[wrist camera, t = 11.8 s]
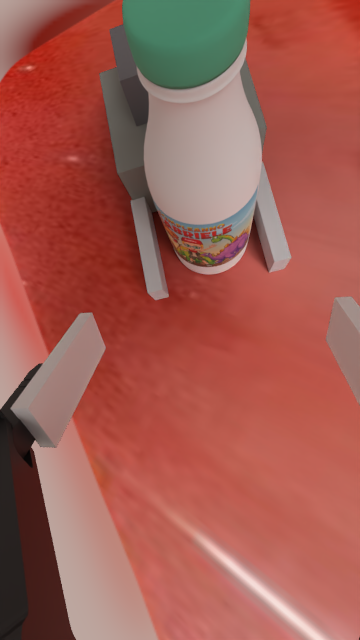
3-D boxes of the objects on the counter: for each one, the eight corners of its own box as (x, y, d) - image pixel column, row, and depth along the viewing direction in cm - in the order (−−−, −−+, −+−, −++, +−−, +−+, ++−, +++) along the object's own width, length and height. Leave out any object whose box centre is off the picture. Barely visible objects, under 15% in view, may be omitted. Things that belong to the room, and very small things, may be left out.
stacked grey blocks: (234, 98, 31) (240, -44, 20) (284, 268, 27) (323, 208, 16) (123, 134, 32) (73, 22, 22) (155, 300, 29) (114, 263, 18)
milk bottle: (176, 209, 30) (86, -77, 10) (247, 206, 29) (299, -128, 9) (173, 276, 29) (66, 98, 9) (247, 276, 27) (306, 67, 8)
